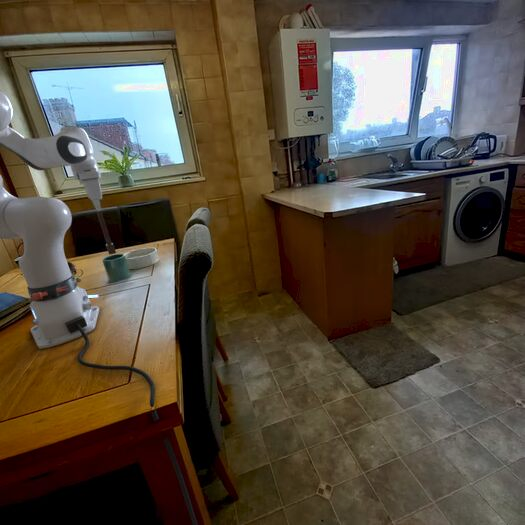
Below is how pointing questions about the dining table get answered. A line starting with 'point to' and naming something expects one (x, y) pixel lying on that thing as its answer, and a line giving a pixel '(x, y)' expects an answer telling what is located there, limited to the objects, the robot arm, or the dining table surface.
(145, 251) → the bowl
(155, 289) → the dining table surface
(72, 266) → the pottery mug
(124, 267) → the utensil pot
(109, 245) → the stirring stick
